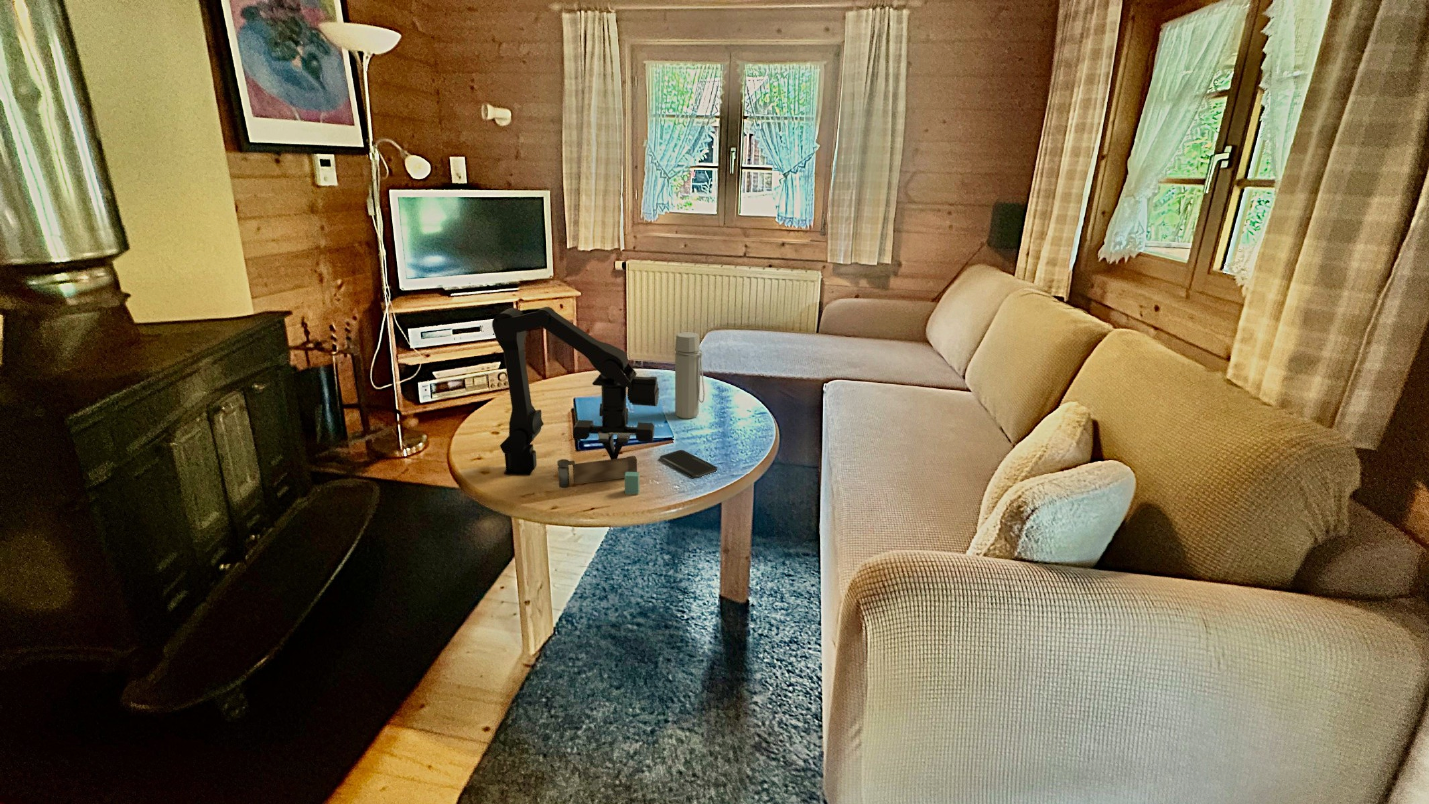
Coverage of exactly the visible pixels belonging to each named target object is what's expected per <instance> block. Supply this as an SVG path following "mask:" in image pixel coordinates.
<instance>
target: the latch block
mask: <svg viewBox="0 0 1429 804" xmlns="http://www.w3.org/2000/svg"><path fill="white" fill-rule="evenodd" d="M639 493H640V472H639V471H637V472H626V473H625V478H624V494H625V495H639Z"/></svg>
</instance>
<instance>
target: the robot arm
mask: <svg viewBox="0 0 1429 804" xmlns="http://www.w3.org/2000/svg"><path fill="white" fill-rule="evenodd" d="M491 328H492V330H493V334H494V336H495V337H494V338H495V340H496V342H497V344H498V345H499V347H500V348H501V349H502V352H503V356H504V364H505V370H506V371H505V372H506V375H507V384H508V385H507V386H508V390H509V391H508V392H509V397H510V404H511V413H510V418H509V421H508V423H509V424H508V425H509V427H508V436H507V437H506V438H505V439H504V440H503V441H502V443H500V445H499V447H500V449H501V451H502V453H503V454H504V463H505V470H504V471H503V475H504V476H530V475H532V473H533V472H534V471H535V469H536V467H537V451H536V450H534V444H533V443H532V442H534V440H535V438H536V437H537V436H538V435H539V434H540V433H541V430H542V427H543V426H544V424H545V423H544V422H543V419H542V418H543V417H542V409H537V410H536V409H535V407H534V406H533V403H532V399H531V390H530V383H529V378H528V369H527V361H526V354H525V347H524V346H525V342H526V337H527V331H530V330H533V329H538V328H539V329H540V328H543V329H545V330H546V331H547V332H549V333H550V334H551V335H553V336H555V337H557V338H558V339H559V340H561V341H562V342H564V343H565V344H567V345H568V346H569V347H571V348H573V349H574V350H576V351H577V352H579V353H580V354H581V355H583V356H584V357H585V358H586V359H587V360H588V361H589V363H590V364H591V365H592V367H593V368H594V369H595V370H596V371H597V372H599V375H598V376H597V377H596V378H595V379H594V380H593V382H592V386H598V387H601V389H600V390H601V403H599V409H598V410H599V413H598V415H599V417H601V425H594V420H587V419H585V420H583V419H578V420H577V421H576V423H575V424H574V426H573V428H572V429H573V430H572V438H573V440H585V441H586V440H587V439H588V438H590V436H591V435H590V434H593V435H594V434H595V435H598V439H597V443H598V444H602V446H603V448H604V449H605V450H606V452H607V454H608V456H609V458H610V459H618V458H619V455H620V452H621V450H622V447H623V446H624V445H628V444H629V441H630V438H631V436H635V439H636V440H637V442H640V443H641V442H642V443H651V442H652V443H653V441H654V436H655V425H654V423H653V422H638V423H637V424H636V425H637V426H627V425H628V424H629V408H627V400H628V402H629V404H631V405H632V406H642V407H643V406H644V407H657V406H658V403H659V397H660V396H659V395H660V388H659V383H658V377H657V376H637V372H636V371H635V369H634V368H633V367H632V365H631V364H630V362H629V359H628V354H627V353H626V352H625V351H624V350H623V349H621V348H620V347H619V348H618V347H616V346H614V345H612V344H611V343H608V342H607V343H606V342H604V341H600V340H598V339H596V338H594V337H593V336H591V335H590V334H589V333H587V332H586V331H584V330H583V329H581V328H579V327H578V326H577V325H575V324H573V322H571V321H569V320H567V319H566V318H565V317H564V316H562V315H561V314H560V313H559V312H556V311H555V310H554V308H552V307H550V306H544V307H543V306H542V307H539V308H527V309H519V308H517V307H511V308H510V307H509V308H508V309H506V310H504V311H502V312H500V313H498V314H497V315H495V316H494V318H493V319H492V322H491ZM614 435H616V440H615V441H614ZM610 459H609V460H610Z"/></svg>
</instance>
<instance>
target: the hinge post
mask: <svg viewBox="0 0 1429 804" xmlns="http://www.w3.org/2000/svg"><path fill="white" fill-rule="evenodd" d="M569 466H570V465H568V466H566V467H559V466H557V470H558V471H557V473H558V485H559V488H562V489H566V488H569V487H570V485H571V484H570V483H571V482H570V468H569Z"/></svg>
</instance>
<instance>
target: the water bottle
mask: <svg viewBox="0 0 1429 804" xmlns="http://www.w3.org/2000/svg"><path fill="white" fill-rule="evenodd" d="M675 338H676V339H675V346H674V351H675V354H674V355H675V356H674V357H675V359H674V362H675V363H674V366H675V368H674V372H675V373H674V375H675V376H674V381H675V383H674V384H675V386H674V390H675V391H674V394H675V395H674V403H675V404H674V406H675V408H674V414H675V415H676V416H677V417H679V418H681V419H688V420H689V419H693V418H696V417H697V416H698V415H699V413H700V408H699V407H700V404H699V403H702V404H703V403H704V401H705V397H706V396H705V394H706V393H705V381H704V371H703V362H702V357H703V353H704V352H703V350H701V346H700V345H701V344H700V335H699V333H696V332H692V331H689V332H688V331H684V332H678V333H676V334H675ZM701 383H702V391H703V392H702V393H703V395H702V400H701V396H700V394H701Z"/></svg>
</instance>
